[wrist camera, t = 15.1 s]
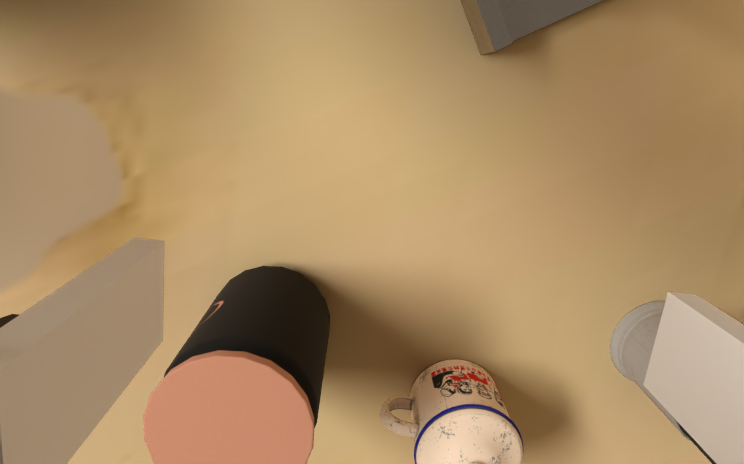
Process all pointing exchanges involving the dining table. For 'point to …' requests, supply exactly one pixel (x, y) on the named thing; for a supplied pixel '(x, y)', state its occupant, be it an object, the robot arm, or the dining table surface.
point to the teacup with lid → (456, 417)
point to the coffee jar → (245, 377)
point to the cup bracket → (515, 18)
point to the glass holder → (641, 351)
